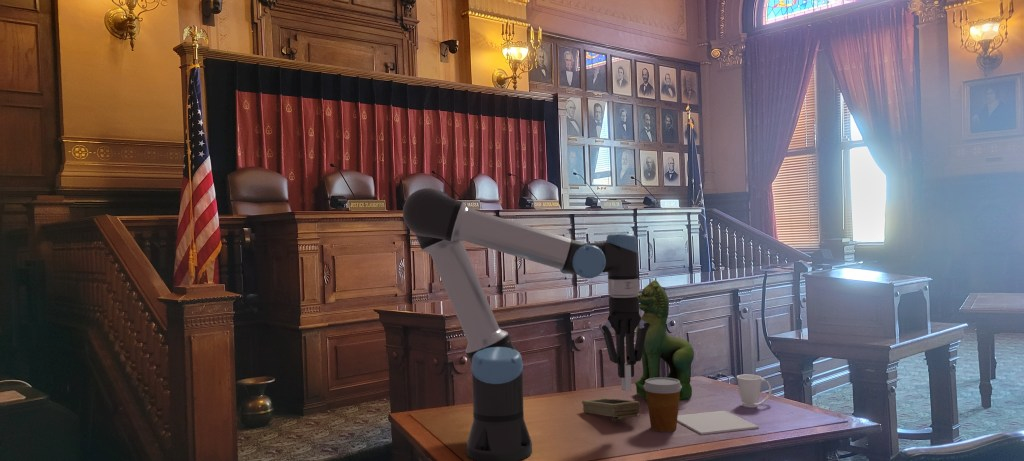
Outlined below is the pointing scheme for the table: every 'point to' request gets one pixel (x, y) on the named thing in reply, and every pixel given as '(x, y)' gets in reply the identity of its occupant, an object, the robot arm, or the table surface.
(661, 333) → the lion statue
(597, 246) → the robot arm
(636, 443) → the table surface
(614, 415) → the box
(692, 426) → the felt mat
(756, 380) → the cup
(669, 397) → the disposable coffee cup
